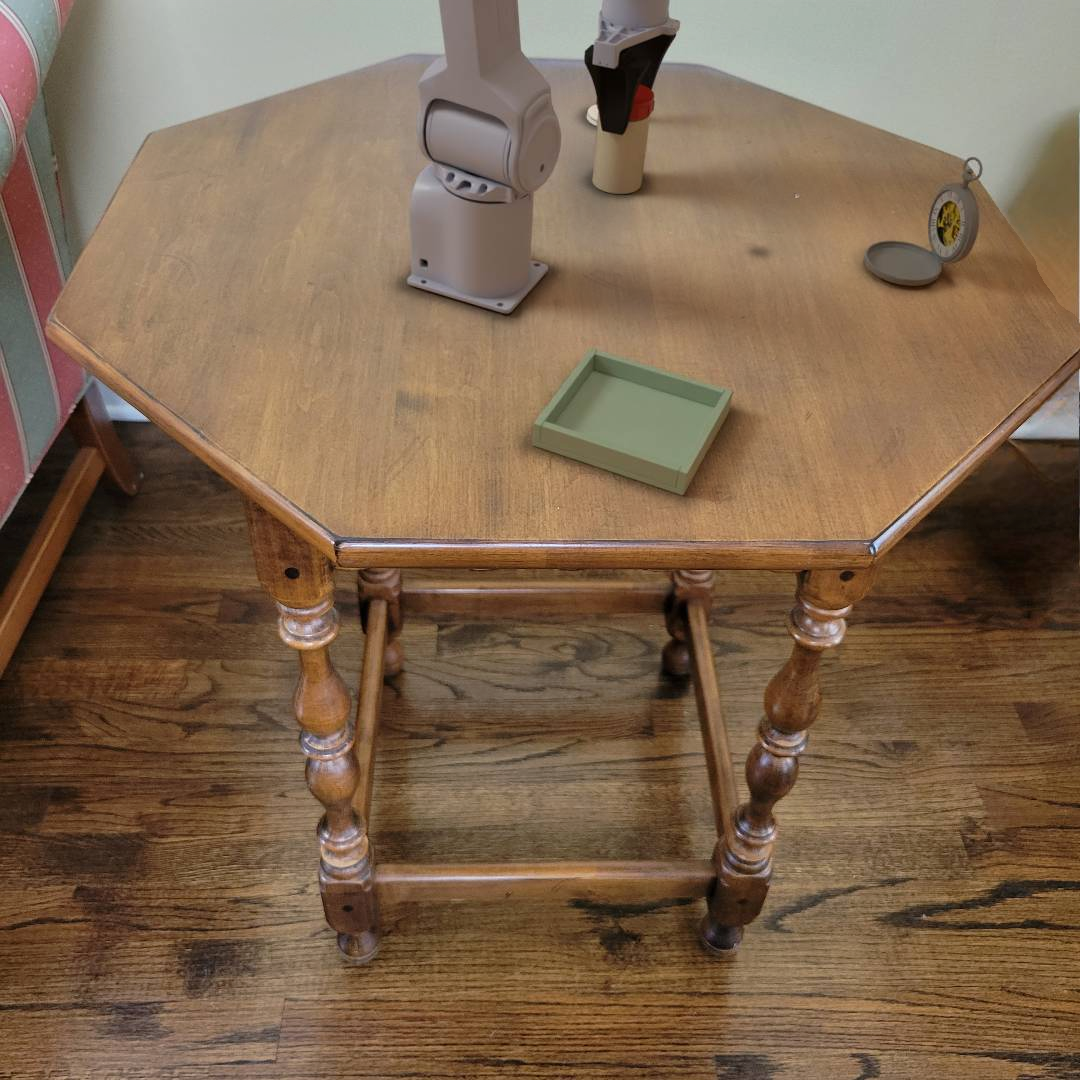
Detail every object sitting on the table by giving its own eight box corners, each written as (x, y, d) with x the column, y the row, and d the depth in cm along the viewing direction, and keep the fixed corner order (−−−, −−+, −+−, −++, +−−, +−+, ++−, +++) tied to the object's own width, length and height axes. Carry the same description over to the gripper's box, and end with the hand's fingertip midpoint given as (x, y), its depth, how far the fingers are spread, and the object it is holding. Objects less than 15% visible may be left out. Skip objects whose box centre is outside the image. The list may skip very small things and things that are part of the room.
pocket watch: (847, 267, 94) (878, 158, 87) (898, 236, 98) (932, 130, 91) (928, 306, 90) (968, 195, 83) (978, 272, 94) (1020, 164, 87)
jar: (584, 186, 102) (591, 101, 96) (603, 166, 105) (611, 83, 100) (631, 198, 101) (641, 113, 95) (648, 178, 104) (659, 94, 98)
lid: (588, 113, 97) (590, 97, 96) (608, 92, 100) (609, 77, 99) (641, 125, 96) (643, 108, 95) (659, 104, 99) (661, 88, 98)
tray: (531, 445, 75) (533, 422, 73) (588, 369, 81) (590, 347, 80) (683, 496, 72) (687, 473, 70) (728, 412, 78) (733, 390, 77)
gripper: (658, -6, 83) (638, 161, 93) (710, -55, 93) (687, 100, 103) (574, -22, 85) (563, 143, 95) (634, -69, 95) (618, 85, 104)
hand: (623, 120), depth 99 cm, fingers closed on lid, 5 cm apart
